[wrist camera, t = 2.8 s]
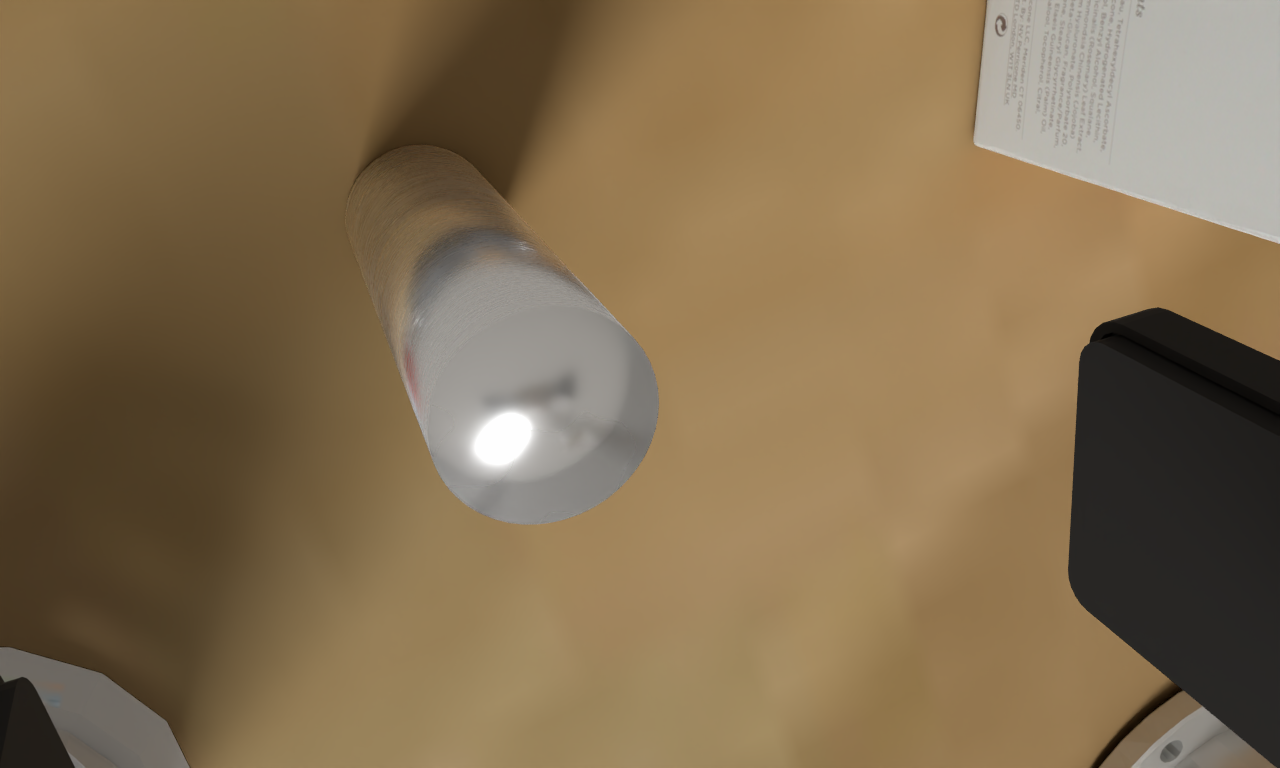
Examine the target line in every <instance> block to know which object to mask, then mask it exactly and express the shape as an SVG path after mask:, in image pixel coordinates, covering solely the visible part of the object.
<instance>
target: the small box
mask: <svg viewBox="0 0 1280 768" xmlns="http://www.w3.org/2000/svg"><path fill="white" fill-rule="evenodd" d="M973 140H974V144H975V145H976V146H978V147H981V148H984V149H987V150H991V151H994V152H997V153H1000V154H1003V155H1006V156H1009V157H1012V158H1015V159H1018V160H1021V161H1024V162H1026V163H1030V164H1033V165H1036V166H1040V167H1043V168H1046V169H1049V170H1052V171H1055V172H1058V173H1061V174H1064V175H1067V176H1070V177H1073V178H1076V179H1079V180H1082V181H1086V182H1089V183H1092V184H1096V185H1099V186H1102V187H1105V188H1108V189H1111V190H1114V191H1117V192H1121V193H1123V194H1126V195H1129V196H1132V197H1135V198H1138V199H1141V200H1144V201H1148V202H1151V203H1154V204H1157V205H1160V206H1164V207H1167V208H1170V209H1173V210H1176V211H1179V212H1182V213H1185V214H1188V215H1191V216H1195V217H1198V218H1201V219H1204V220H1207V221H1210V222H1213V223H1216V224H1219V225H1222V226H1226V227H1229V228H1232V229H1235V230H1238V231H1241V232H1245V233H1248V234H1251V235H1254V236H1257V237H1260V238H1263V239H1266V240H1270V241H1273V242H1276V243H1279V244H1280V0H987V8H986V19H985V29H984V39H983V49H982V59H981V69H980V79H979V89H978V99H977V110H976V120H975V130H974V137H973Z"/></svg>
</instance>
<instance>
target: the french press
mask: <svg viewBox="0 0 1280 768" xmlns="http://www.w3.org/2000/svg"><path fill="white" fill-rule="evenodd" d="M0 676H1V677H2V678H3V680H4V682H7V681H10V680H14V679H17V678H20V677H25V678H27V679H28V680H29V681H30V682H31V683H32V684H33V685H34V687H35V689H36V690H37V692H38V694H39V696H40V698H41V700H42V702H43V704H44V706H45V708H46V710H47V712H48V714H49V716H50V718H51V720H52V722H53V724H54V726H55V728H56V730H57V732H58V734H59V736H60V738H61V740H62V742H63V744H64V746H65V748H66V750H67V752H68V754H69V756H70V758H71V760H72V762H73V764H74V766H75V768H190V767H189V765H188V763H187V761H186V759H185V757H184V755H183V753H182V751H181V749H180V747H179V745H178V743H177V741H176V739H175V737H174V735H173V733H172V731H171V729H170V727H169V725H168V723H167V721H165V720H164V719H163V718H161V717H160V716H159V715H157V714H156V713H155V712H153V711H152V710H151V709H149V708H148V707H147V706H145V705H144V704H143V703H141V702H140V701H139V700H137V699H136V698H134V697H133V696H132V695H130V694H129V693H128V692H126V691H125V690H124V689H122V688H121V687H120V686H118V685H117V684H116V683H114V682H113V681H112V680H110V679H109V678H108V677H106V676H105V675H104V674H102V673H99V672H95V671H92V670H88V669H85V668H81V667H78V666H74V665H70V664H67V663H63V662H60V661H56V660H53V659H49V658H46V657H42V656H38V655H35V654H31V653H28V652H24V651H21V650H17V649H14V648H10V647H0Z"/></svg>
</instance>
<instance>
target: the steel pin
mask: <svg viewBox="0 0 1280 768" xmlns="http://www.w3.org/2000/svg"><path fill="white" fill-rule="evenodd" d="M345 219H346V230H347V235H348V238H349V241H350V244H351V247H352V249H353V252H354V255H355V257H356V260H357V263H358V265H359V268H360V270H361V273H362V276H363V278H364V281H365V284H366V286H367V289H368V291H369V294H370V297H371V299H372V302H373V305H374V307H375V310H376V312H377V315H378V318H379V320H380V323H381V326H382V328H383V331H384V333H385V336H386V339H387V341H388V344H389V347H390V349H391V352H392V355H393V357H394V360H395V362H396V365H397V368H398V370H399V373H400V376H401V378H402V381H403V383H404V386H405V389H406V391H407V394H408V397H409V399H410V402H411V404H412V407H413V410H414V412H415V415H416V418H417V420H418V423H419V426H420V428H421V431H422V433H423V436H424V439H425V441H426V444H427V447H428V449H429V452H430V454H431V457H432V460H433V462H434V465H435V467H436V469H437V471H438V473H439V475H440V477H441V479H442V480H443V481H444V483H445V484H446V485H447V487H448V488H449V490H450V491H451V492H452V493H453V494H454V495H455V496H456V497H457V498H458V499H459V500H461V501H462V502H463V503H465V504H466V505H467V506H469V507H470V508H472V509H474V510H475V511H477V512H479V513H481V514H483V515H485V516H488V517H490V518H493V519H496V520H500V521H504V522H508V523H516V524H543V523H551V522H556V521H560V520H564V519H568V518H570V517H573V516H576V515H578V514H581V513H583V512H585V511H587V510H589V509H591V508H593V507H595V506H596V505H598V504H599V503H601V502H603V501H604V500H606V499H607V498H608V497H610V496H611V495H612V494H613V493H615V492H616V491H617V490H618V489H619V488H620V487H621V486H622V485H623V484H624V483H625V482H626V481H627V480H628V479H629V478H630V476H631V475H632V474H633V473H634V471H635V470H636V469H637V468H638V466H639V464H640V463H641V461H642V459H643V458H644V456H645V454H646V452H647V450H648V448H649V446H650V444H651V441H652V438H653V435H654V432H655V429H656V423H657V418H658V407H659V398H658V387H657V382H656V378H655V374H654V371H653V369H652V366H651V363H650V361H649V359H648V358H647V356H646V354H645V352H644V351H643V349H642V348H641V347H640V345H639V344H638V343H637V341H636V340H635V339H634V338H633V337H632V336H631V335H630V334H629V332H628V331H627V330H626V329H625V328H624V327H623V326H622V325H621V324H620V323H619V322H618V321H617V320H616V319H615V317H614V316H613V315H612V314H611V313H610V312H609V311H608V310H607V309H606V308H605V307H604V306H603V305H602V303H601V302H600V301H599V300H598V299H597V298H596V297H595V296H594V295H593V294H592V293H591V292H590V291H589V290H588V288H587V287H586V286H585V285H584V284H583V283H582V282H581V281H580V280H579V279H578V278H577V277H576V276H575V274H574V273H573V272H572V271H571V270H570V269H569V268H568V267H567V266H566V265H565V264H564V263H563V262H562V261H561V259H560V258H559V257H558V256H557V255H556V254H555V253H554V252H553V251H552V250H551V249H550V248H549V247H548V245H547V244H546V243H545V242H544V241H543V240H542V239H541V238H540V237H539V236H538V235H537V234H536V233H535V232H534V230H533V229H532V228H531V227H530V226H529V225H528V224H527V223H526V222H525V221H524V220H523V219H522V218H521V216H520V215H519V214H518V213H517V212H516V211H515V210H514V209H513V208H512V207H511V206H510V205H509V204H508V202H507V201H506V200H505V199H504V198H503V197H502V196H501V195H500V194H499V193H498V192H497V191H496V190H495V189H494V187H493V186H492V185H491V184H490V183H489V182H488V181H487V180H486V179H485V178H484V177H483V176H482V175H481V173H480V172H479V171H478V170H477V169H476V168H475V167H474V166H473V165H472V164H471V163H470V162H468V161H467V160H466V159H464V158H463V157H462V156H460V155H458V154H456V153H454V152H453V151H450V150H447V149H445V148H441V147H437V146H432V145H410V146H404V147H400V148H397V149H394V150H391V151H389V152H387V153H385V154H383V155H381V156H380V157H378V158H377V159H375V160H374V161H373V162H372V163H370V164H369V165H368V166H367V167H366V168H365V169H364V170H363V171H362V173H361V174H360V175H359V177H358V178H357V180H356V181H355V183H354V185H353V187H352V189H351V192H350V194H349V197H348V201H347V206H346V215H345Z"/></svg>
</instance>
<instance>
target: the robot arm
mask: <svg viewBox="0 0 1280 768" xmlns="http://www.w3.org/2000/svg"><path fill="white" fill-rule="evenodd" d="M1068 574H1069V581H1070V584H1071V588H1072V590H1073V592H1074V594H1075V596H1076V598H1077V599H1078V601H1079V602H1080V604H1081V605H1082V606H1083V607H1084V608H1085V609H1086V610H1087V611H1088V612H1090V613H1091V614H1092V615H1093V616H1094V617H1096V618H1097V619H1098V620H1099V621H1100V622H1102V623H1103V624H1104V625H1105V626H1106V627H1108V628H1109V629H1110V630H1111V631H1112V632H1114V633H1115V634H1116V635H1117V636H1119V637H1120V638H1121V639H1122V640H1123V641H1125V642H1126V643H1127V644H1128V645H1129V646H1131V647H1132V648H1133V649H1134V650H1135V651H1137V652H1138V653H1139V654H1140V655H1141V656H1143V657H1144V658H1145V659H1146V660H1147V661H1149V662H1150V663H1151V664H1152V665H1153V666H1155V667H1156V668H1157V669H1158V670H1159V671H1161V672H1162V673H1163V674H1164V675H1165V676H1167V677H1168V678H1169V679H1170V680H1171V681H1173V682H1174V683H1175V684H1176V685H1177V686H1179V687H1180V688H1181V689H1182V691H1181V692H1179V693H1177V694H1176V695H1174V696H1173V697H1172V698H1170V699H1169V700H1168V701H1166V702H1165V703H1164V704H1162V705H1161V706H1160V707H1158V708H1157V709H1156V710H1154V711H1153V712H1152V713H1150V714H1149V715H1148V716H1147V717H1146V718H1144V719H1143V720H1142V721H1141V722H1140V723H1139V724H1138V725H1137V726H1136V727H1135V728H1134V729H1133V730H1132V731H1131V732H1130V733H1129V734H1127V735H1126V736H1125V737H1124V738H1123V739H1122V740H1121V741H1120V743H1119V744H1118V745H1117V746H1116V747H1115V749H1114V750H1113V751H1112V752H1111V753H1110V754H1109V756H1108V757H1107V758H1106V759H1105V760H1104V762H1103V763H1102V764H1101V765H1100V766H1099V768H1280V361H1279V360H1277V359H1274V358H1272V357H1270V356H1268V355H1266V354H1263V353H1261V352H1259V351H1257V350H1255V349H1253V348H1250V347H1248V346H1246V345H1244V344H1242V343H1239V342H1237V341H1235V340H1233V339H1231V338H1228V337H1226V336H1224V335H1222V334H1220V333H1217V332H1215V331H1213V330H1211V329H1209V328H1207V327H1204V326H1202V325H1200V324H1198V323H1196V322H1193V321H1191V320H1189V319H1187V318H1185V317H1182V316H1180V315H1178V314H1176V313H1174V312H1172V311H1169V310H1166V309H1162V308H1152V309H1147V310H1144V311H1140V312H1137V313H1134V314H1131V315H1127V316H1124V317H1121V318H1118V319H1115V320H1111V321H1108V322H1105V323H1102V324H1101V325H1100V326H1098V327H1097V328H1096V329H1095V330H1094V332H1093V334H1092V336H1091V338H1090V343H1089V344H1088V345H1086V346H1085V347H1084V349H1083V351H1082V352H1081V356H1080V361H1079V378H1078V396H1077V415H1076V434H1075V452H1074V471H1073V490H1072V508H1071V527H1070V545H1069V564H1068ZM0 768H75V766H74V764H73V762H72V760H71V758H70V756H69V754H68V752H67V750H66V748H65V746H64V744H63V742H62V740H61V738H60V736H59V734H58V732H57V730H56V728H55V726H54V724H53V722H52V720H51V718H50V716H49V714H48V712H47V710H46V708H45V706H44V704H43V702H42V700H41V698H40V696H39V694H38V692H37V690H36V689H35V687H34V685H33V684H32V683H31V682H30V681H29V680H28V679H27V678H25V677H20V678H17V679H14V680H10V681H7V682H4V680H3V678H2V677H1V676H0Z"/></svg>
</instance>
